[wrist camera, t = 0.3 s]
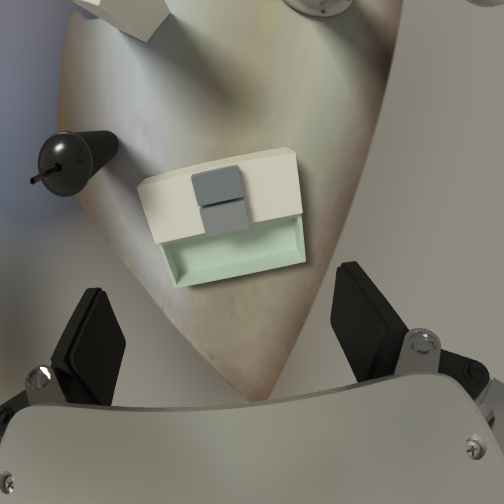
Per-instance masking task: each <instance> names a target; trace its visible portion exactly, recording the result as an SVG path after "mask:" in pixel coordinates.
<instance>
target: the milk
mask: <svg viewBox="0 0 504 504" xmlns="http://www.w3.org/2000/svg"><path fill="white" fill-rule="evenodd" d="M71 1H73V2H75V3H76V4H78V5H80V6H82V7H83V8H85V9H87V10H88V11H90V12H91V13H93V14H95V15H96V16H98V17H100V18H101V19H103V20H104V21H106V22H107V23H109V24H110V25H112V26H113V27H115V28H116V29H118V30H121V31H123V32H125V33H127V34H129V35H132V36H134V37H136V38H138V39H140V40H142V41H144V42H147V41H148V40H149V39H150V37H151V36H152V35H153V34H154V32H155V31H156V30H157V28H158V27H159V26H160V25H161V23H162V22H163V21H164V20H165V19H166V17H167V16H168V15H169V14H170V13H171V12H170V10H169V8H168V6H167V5H166V3H165V1H164V0H71Z"/></svg>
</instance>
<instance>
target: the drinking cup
mask: <svg viewBox="0 0 504 504" xmlns="http://www.w3.org/2000/svg"><path fill="white" fill-rule="evenodd" d="M117 150H118V140H117V138H116V136H115V135H114V134H113V133H112V132H110V131H88V132H74V133H73V132H70V131H62V132H58V133H55V134H54V135H52V136H50V137H49V138H48V139H47V140H46V141H45V143H44V144H43V146H42V148H41V150H40V153H39V157H38V171H39V174H38V175H36V176H34V177H32V178H31V179H30V183H31V184H35V183H36V182H38V181H40V180H42V182H43V184H44V186H45V187H46V188H47V189H48V190H49V191H50V192H52V193H53V194H55V195H57V196H62V197H68V196H73V195H75V194H77V193H78V192H80V191H81V190H82V189H83V188H84V187H85V186H86V184H87V183H88V181H89V179H90V178H91V177H92V176H93V175H94V174H95V173H96V172H97V171H99V170H100V169H101V168H102V167H103V166H104V165H105V164H106V163H107V162H108V161H109V160H110V159H112V158H113V157H114V156H115V154H116V153H117Z"/></svg>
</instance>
